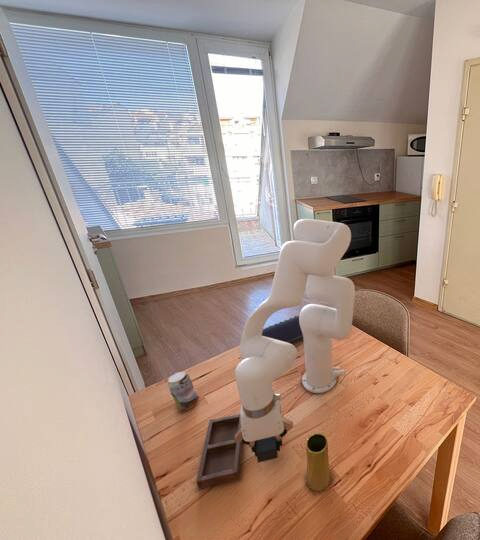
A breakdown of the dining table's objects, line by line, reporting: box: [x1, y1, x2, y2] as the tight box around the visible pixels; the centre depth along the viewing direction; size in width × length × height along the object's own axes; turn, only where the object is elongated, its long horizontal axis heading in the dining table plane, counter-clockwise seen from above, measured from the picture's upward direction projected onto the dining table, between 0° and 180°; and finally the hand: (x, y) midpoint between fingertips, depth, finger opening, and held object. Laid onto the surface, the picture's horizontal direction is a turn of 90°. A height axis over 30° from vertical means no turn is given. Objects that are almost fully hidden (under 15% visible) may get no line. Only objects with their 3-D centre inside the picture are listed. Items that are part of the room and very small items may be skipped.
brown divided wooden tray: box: [195, 413, 243, 490], centre depth 82 cm, size 10×18×3 cm, turn 15°
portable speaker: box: [262, 315, 303, 344], centre depth 126 cm, size 25×10×10 cm, turn 130°
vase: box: [305, 432, 331, 492], centre depth 74 cm, size 6×6×14 cm
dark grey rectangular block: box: [256, 436, 279, 463], centre depth 79 cm, size 5×6×4 cm
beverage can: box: [167, 370, 199, 411], centre depth 95 cm, size 6×7×12 cm
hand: (267, 448), depth 80 cm, fingers closed on dark grey rectangular block, 5 cm apart
